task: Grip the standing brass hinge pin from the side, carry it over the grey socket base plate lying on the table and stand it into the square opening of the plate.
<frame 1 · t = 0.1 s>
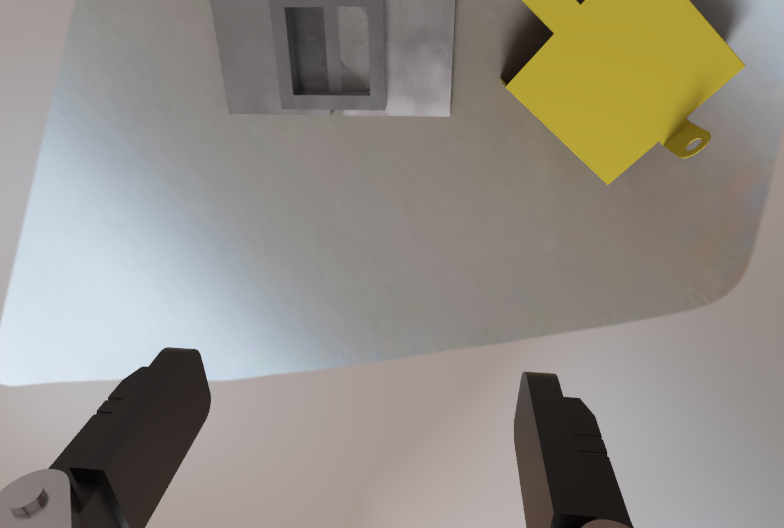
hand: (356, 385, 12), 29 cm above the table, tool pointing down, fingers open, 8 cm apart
grey socket base plate: (335, 49, 36), on the table
bracket: (586, 50, 35), on the table
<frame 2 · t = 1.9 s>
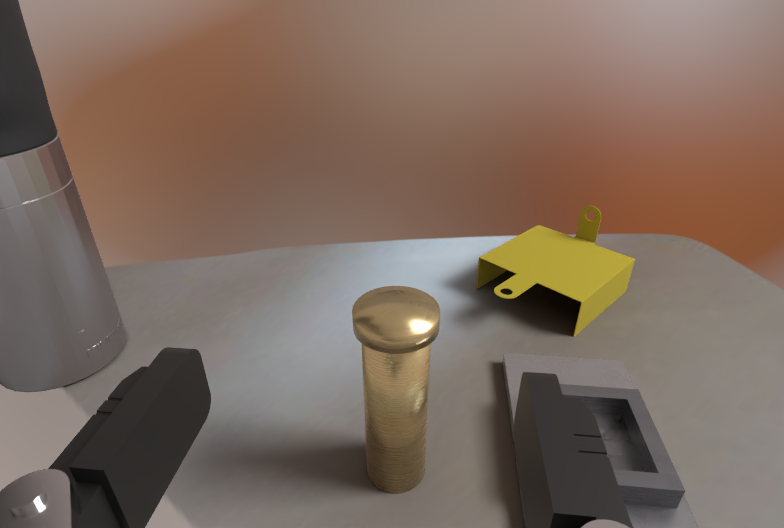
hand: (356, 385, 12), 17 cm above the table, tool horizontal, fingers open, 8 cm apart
hinge pin: (395, 467, 30), on the table
grey socket base plate: (586, 456, 31), on the table
bracket: (539, 303, 47), on the table
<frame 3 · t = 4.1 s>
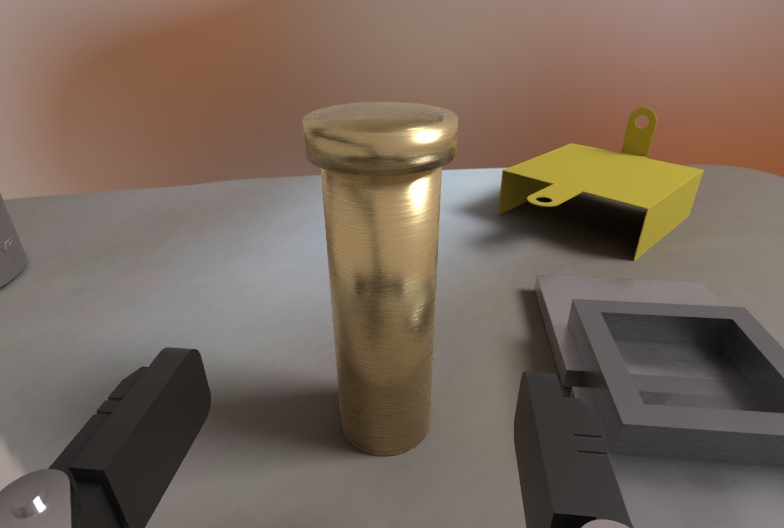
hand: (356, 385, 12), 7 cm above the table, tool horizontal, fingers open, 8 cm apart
hinge pin: (385, 418, 20), on the table
grey socket base plate: (675, 403, 20), on the table
bracket: (580, 230, 37), on the table
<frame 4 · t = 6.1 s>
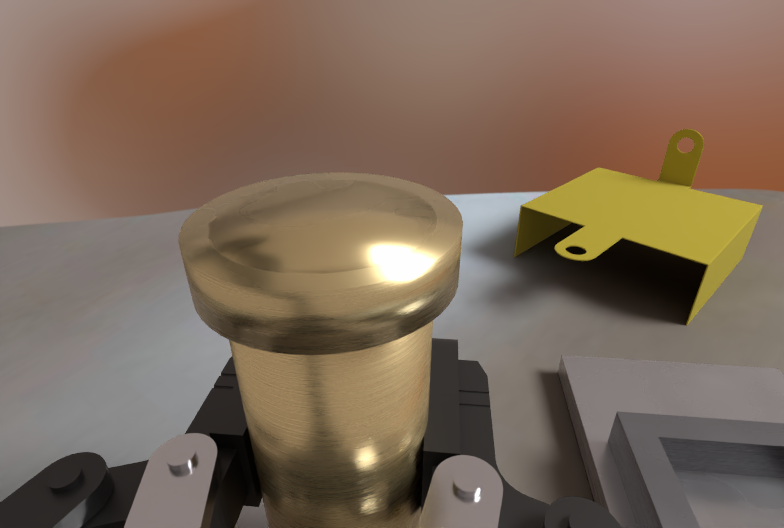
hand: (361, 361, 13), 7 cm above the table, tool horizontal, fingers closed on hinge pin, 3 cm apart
bracket: (613, 276, 31), on the table
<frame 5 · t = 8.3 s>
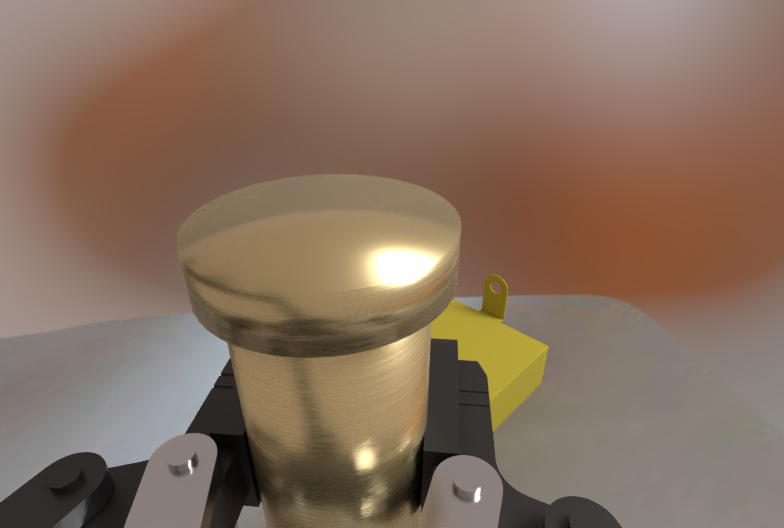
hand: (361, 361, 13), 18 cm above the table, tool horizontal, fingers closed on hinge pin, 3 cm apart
bracket: (430, 402, 37), on the table
when the fingers open (8 cm above the table, at t = 10.5 s): hinge pin stays where it is, resting on grey socket base plate.
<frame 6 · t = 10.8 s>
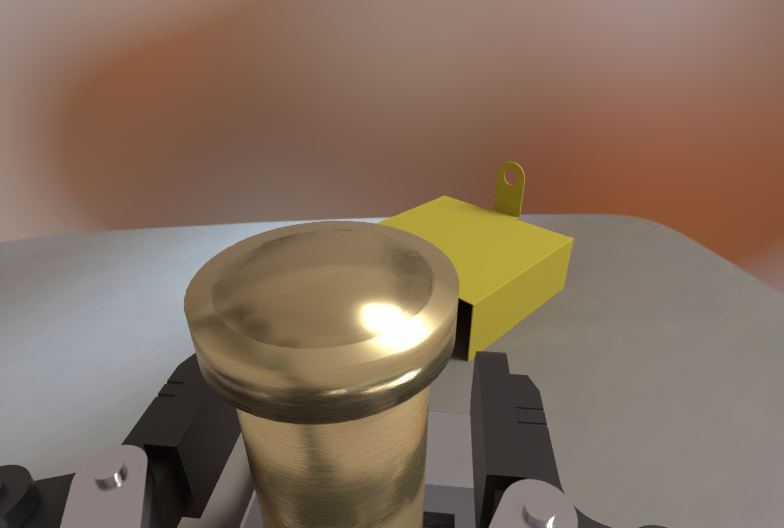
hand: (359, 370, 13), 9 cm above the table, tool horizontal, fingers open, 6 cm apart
bracket: (434, 307, 31), on the table
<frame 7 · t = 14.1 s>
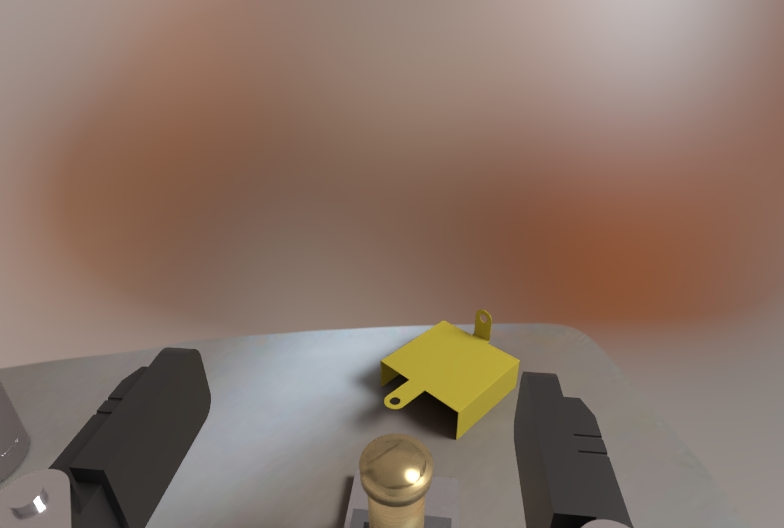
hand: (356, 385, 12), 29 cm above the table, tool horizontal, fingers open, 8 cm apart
bracket: (437, 399, 52), on the table
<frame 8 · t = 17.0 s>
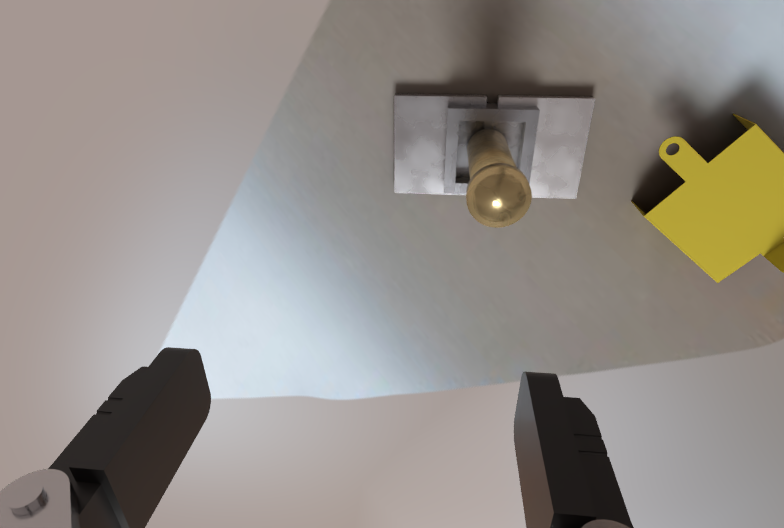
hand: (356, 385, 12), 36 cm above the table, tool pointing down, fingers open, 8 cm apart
hinge pin: (487, 148, 44), point 1 cm above the table, touching grey socket base plate
grey socket base plate: (487, 145, 45), on the table
bracket: (699, 179, 45), on the table
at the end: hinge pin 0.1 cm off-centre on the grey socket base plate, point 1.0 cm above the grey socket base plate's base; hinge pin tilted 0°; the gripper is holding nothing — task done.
